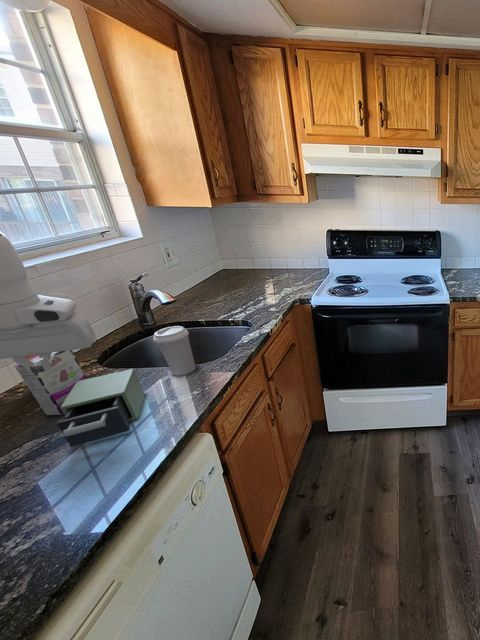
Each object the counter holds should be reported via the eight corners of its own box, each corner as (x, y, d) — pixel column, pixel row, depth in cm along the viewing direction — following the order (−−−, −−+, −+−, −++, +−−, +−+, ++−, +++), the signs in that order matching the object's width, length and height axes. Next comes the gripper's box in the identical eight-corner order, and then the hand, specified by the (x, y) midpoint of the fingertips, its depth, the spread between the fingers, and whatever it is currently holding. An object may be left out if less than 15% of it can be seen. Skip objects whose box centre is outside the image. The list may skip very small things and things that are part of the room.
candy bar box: (80, 393, 113) (54, 346, 106) (96, 393, 113) (71, 346, 106) (44, 416, 103) (12, 365, 96) (61, 415, 103) (31, 365, 96)
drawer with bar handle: (125, 442, 90) (113, 418, 87) (64, 460, 85) (48, 435, 82) (137, 405, 105) (127, 383, 102) (85, 418, 100) (73, 396, 97)
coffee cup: (188, 362, 130) (173, 323, 124) (207, 366, 127) (193, 326, 121) (161, 375, 122) (143, 335, 115) (181, 379, 119) (164, 338, 112)
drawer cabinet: (137, 419, 100) (124, 391, 96) (77, 436, 94) (60, 407, 91) (145, 394, 112) (133, 368, 108) (91, 407, 106) (77, 381, 102)
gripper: (-84, 325, 63) (-41, 390, 70) (75, 311, 73) (99, 369, 79) (-62, 311, 68) (-24, 373, 74) (83, 299, 78) (106, 355, 84)
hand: (40, 371), depth 77 cm, fingers closed
